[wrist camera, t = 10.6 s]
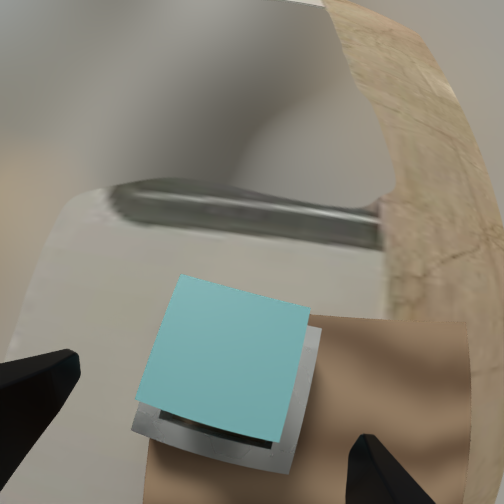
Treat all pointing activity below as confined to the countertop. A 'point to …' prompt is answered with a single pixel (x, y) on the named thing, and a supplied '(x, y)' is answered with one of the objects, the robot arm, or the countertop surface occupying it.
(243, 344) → the block
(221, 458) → the collar
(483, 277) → the countertop surface
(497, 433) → the countertop surface
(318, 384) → the board
